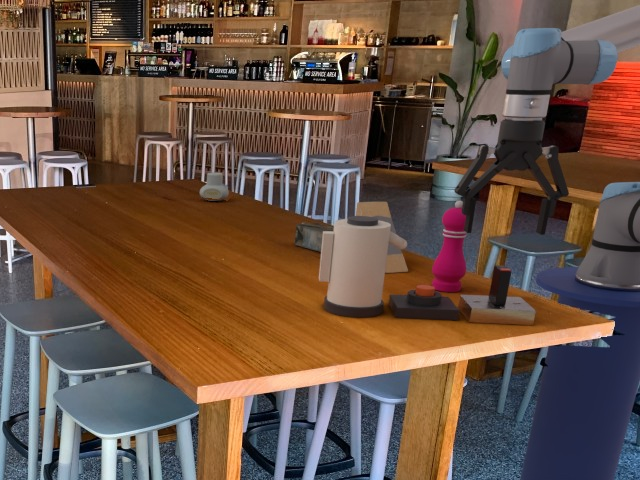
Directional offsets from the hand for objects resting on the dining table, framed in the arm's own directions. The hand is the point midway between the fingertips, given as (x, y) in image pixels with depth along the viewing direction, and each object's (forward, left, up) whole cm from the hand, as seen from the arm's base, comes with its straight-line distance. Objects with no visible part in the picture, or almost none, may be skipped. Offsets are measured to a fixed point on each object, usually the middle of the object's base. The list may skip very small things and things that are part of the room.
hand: (503, 232), depth 155 cm
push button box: (+13, -1, -17) cm, 21 cm away
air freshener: (+63, -140, -17) cm, 154 cm away
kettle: (+27, -1, -17) cm, 32 cm away
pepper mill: (+4, -21, -17) cm, 27 cm away
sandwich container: (+16, -42, -17) cm, 48 cm away
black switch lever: (-1, 0, -14) cm, 14 cm away
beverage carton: (+28, -58, -17) cm, 67 cm away
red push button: (+13, -1, -13) cm, 19 cm away
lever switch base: (-1, 0, -17) cm, 17 cm away
